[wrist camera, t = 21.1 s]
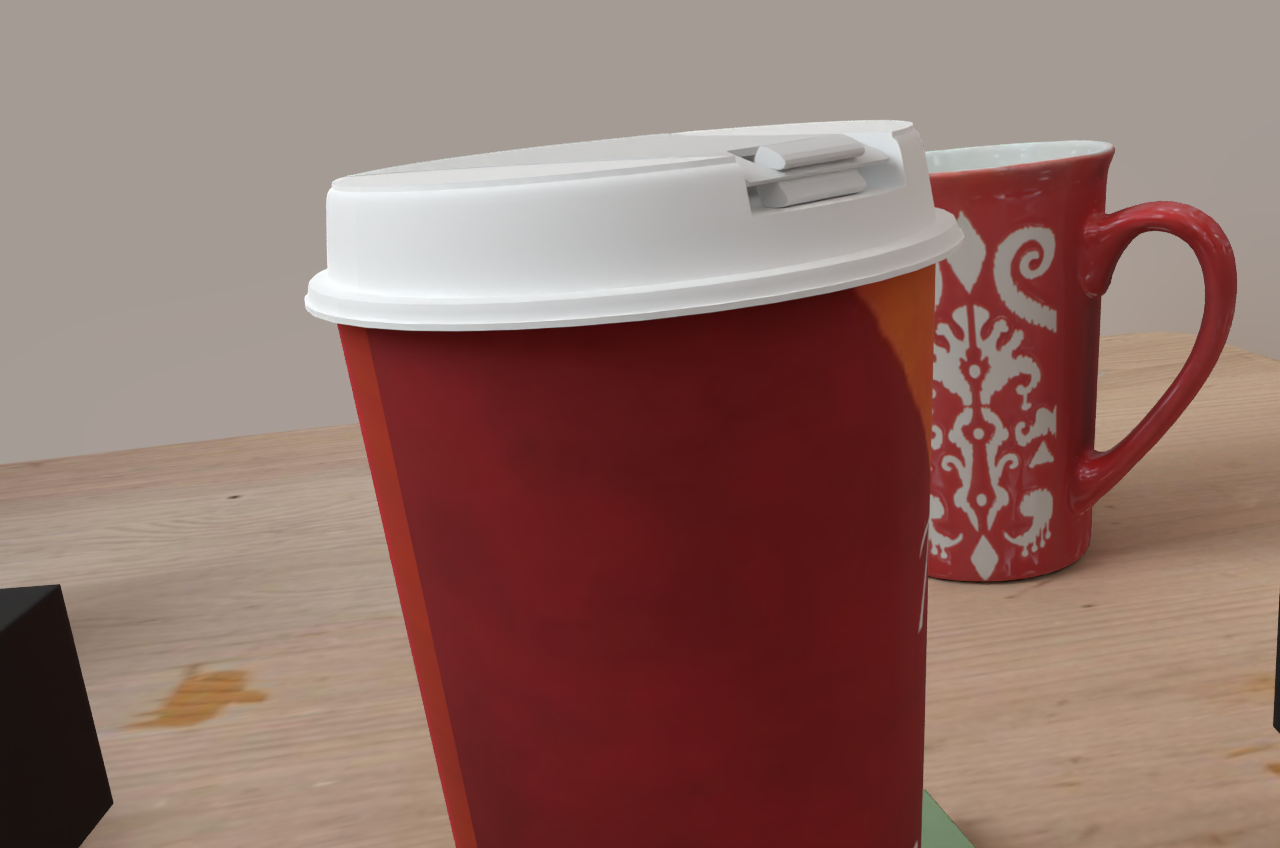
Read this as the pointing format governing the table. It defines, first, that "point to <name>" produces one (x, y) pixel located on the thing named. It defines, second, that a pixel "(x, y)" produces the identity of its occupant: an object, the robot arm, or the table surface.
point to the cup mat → (939, 827)
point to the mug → (1040, 352)
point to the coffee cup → (656, 476)
